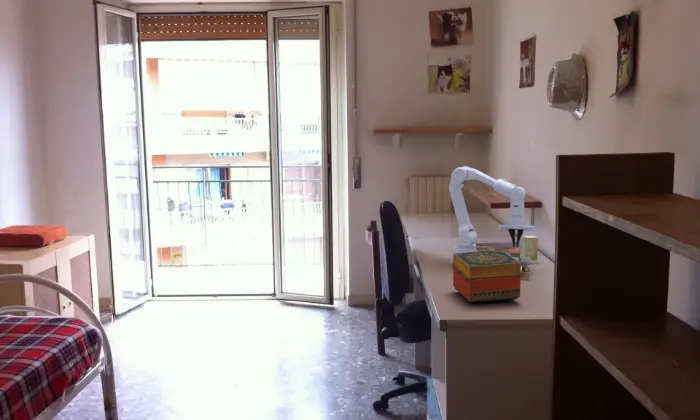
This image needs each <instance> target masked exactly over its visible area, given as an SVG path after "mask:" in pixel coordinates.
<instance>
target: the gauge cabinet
mask: <svg viewBox="0 0 700 420" xmlns="http://www.w3.org/2000/svg"><path fill="white" fill-rule="evenodd" d="M527 259H528V258H521V257H520V261H518V262H520V263H521V267H526V266H528V264H527Z"/></svg>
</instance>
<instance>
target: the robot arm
mask: <svg viewBox="0 0 700 420" xmlns="http://www.w3.org/2000/svg"><path fill="white" fill-rule="evenodd" d="M450 177H451V178H450V179H449V180H450V181H449V185H448V191H449V195H450V198H451V201H452V205H453V208H454V212H455V216H456V220H457V223H458V242H459V245H455V246H454V254H455V253H468V252H477V244H476V242H477V241H478V239H479V237H478V233H477V232H476V231H475V229H474V226H473V225H472V223H471V220H470V217H469V216H470V215H469V213H468V209H467V206H466V202H465V197H464V195H463V191H462V188H463V187H464V185H465V184H466V183H467V182H469V181H471V180H472V181H473V180H476V181H478V182H481V183H484V184H486V185H488V186H491V187H493V190H494V192H497V193H498V194H501V195H502V196H505V197H507V198H509V199H510V205H509V206H510V207H509V224H498V230H499V231H500V230H507V231H508V233H509V236H510V238H511V241H512V247H513V248H515V247H516V248H519V244H520V241H521V239H522V236H523V234H524V231H529V232H534V231H535V225H525V224H524V219H525V197H526V193H527V192H526V190H525V188H523V186H520V185H519V186H517V184H516V183H510V182H508V181H507V179H506V178H503V179H502V178H498V179H495V178H493V177H491V176H489V175H488V174H486V173H484V172H482V171H480V170H478V169H475V168H472V167H470V166H468V165H467V166H466V165H465V166H464V165H463V166H461V167H460V166H459V167H456V168H455V169H454V170H453V171H452V173H451V174H450ZM516 234H517V235H516Z"/></svg>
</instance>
